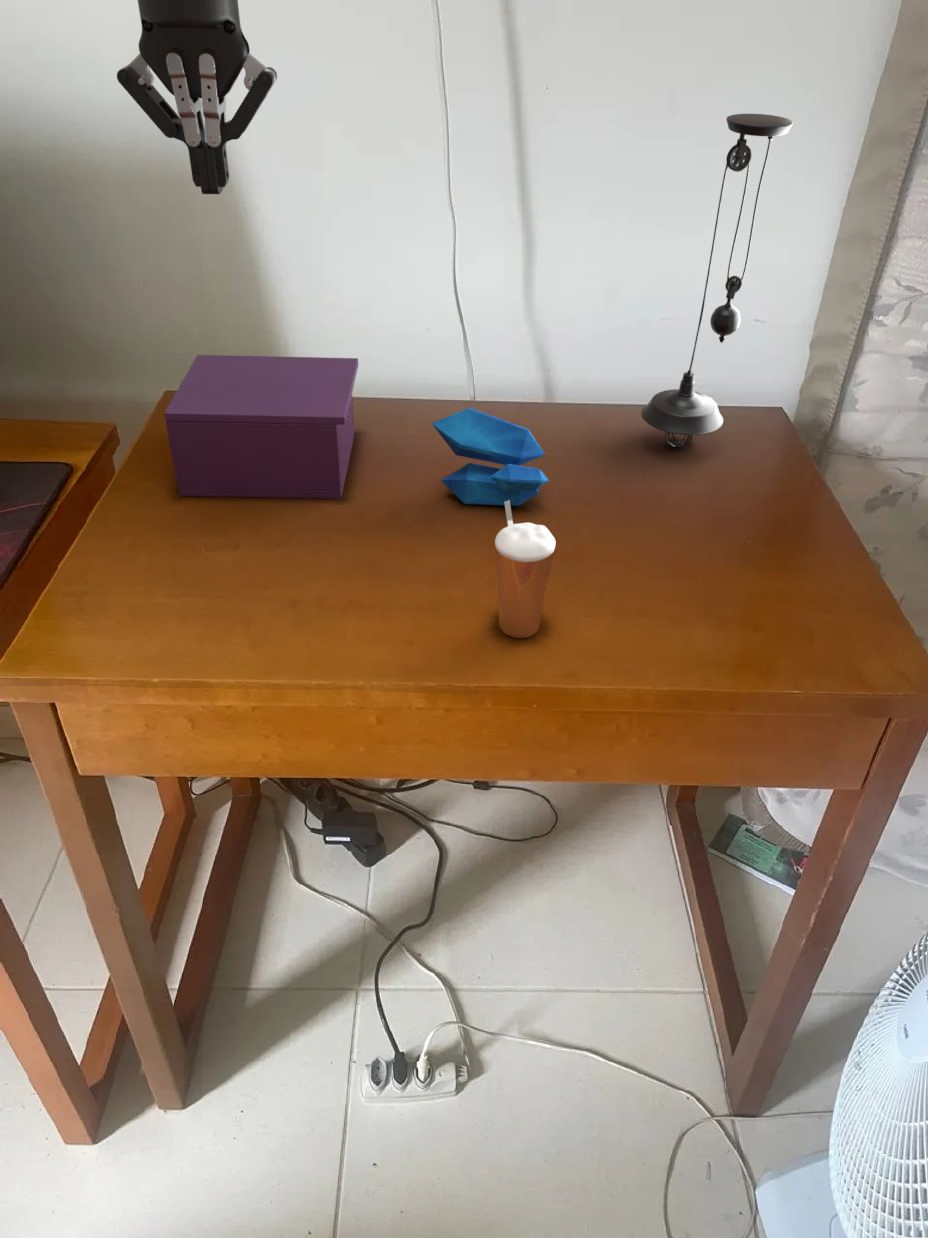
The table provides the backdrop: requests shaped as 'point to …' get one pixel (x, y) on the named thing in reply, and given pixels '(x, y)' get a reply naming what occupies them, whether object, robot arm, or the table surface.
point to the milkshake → (522, 575)
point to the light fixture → (684, 405)
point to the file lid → (265, 390)
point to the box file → (261, 458)
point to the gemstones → (491, 459)
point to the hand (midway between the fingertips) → (213, 191)
